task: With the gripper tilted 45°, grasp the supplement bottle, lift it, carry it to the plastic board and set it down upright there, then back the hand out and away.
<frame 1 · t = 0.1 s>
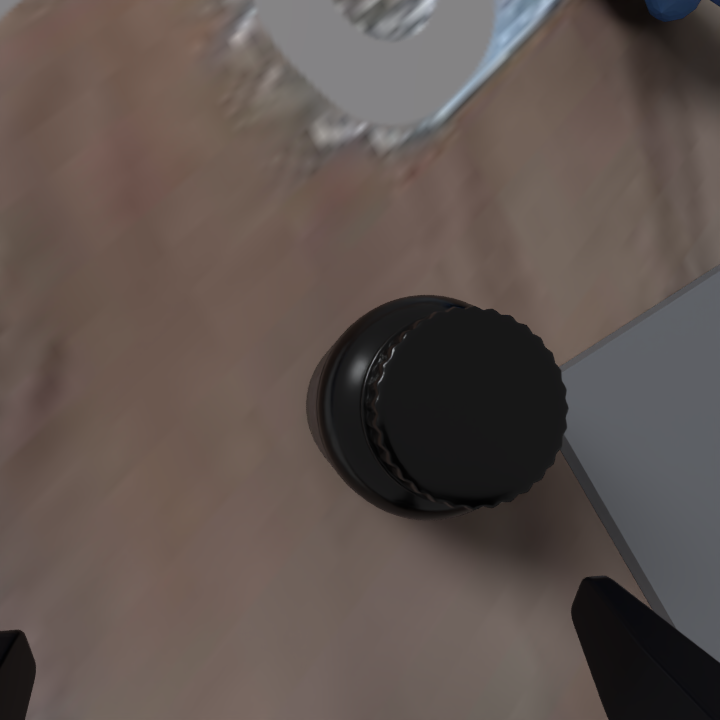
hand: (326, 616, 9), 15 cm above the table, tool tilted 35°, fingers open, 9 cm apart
supplement bottle: (377, 404, 24), on the table
grapes: (599, 2, 28), on the table
board: (717, 478, 26), on the table
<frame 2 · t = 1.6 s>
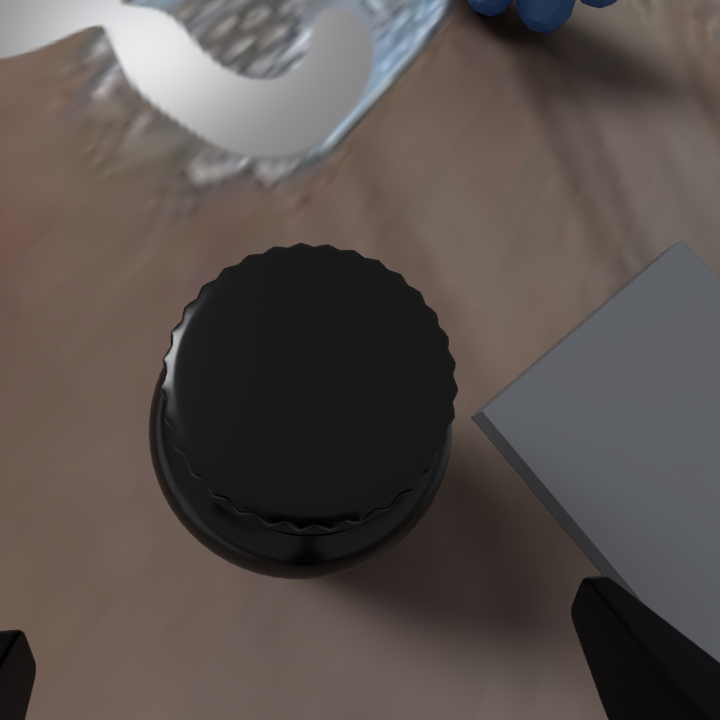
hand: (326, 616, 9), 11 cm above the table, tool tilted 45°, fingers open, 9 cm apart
supplement bottle: (295, 459, 20), on the table
grapes: (477, 27, 28), on the table
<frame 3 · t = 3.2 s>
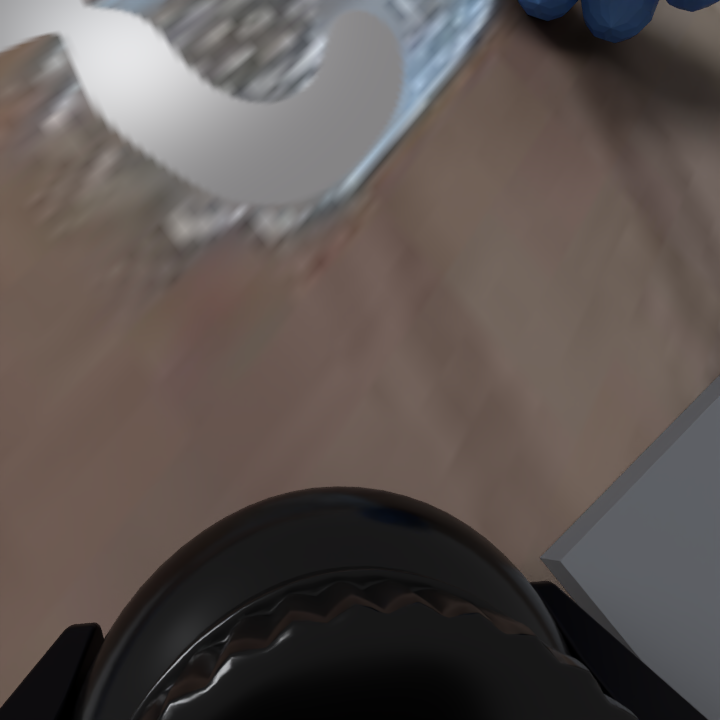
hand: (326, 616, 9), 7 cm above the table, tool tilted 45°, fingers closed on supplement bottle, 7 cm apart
supplement bottle: (307, 627, 15), on the table, touching gripper
grapes: (530, 33, 22), on the table
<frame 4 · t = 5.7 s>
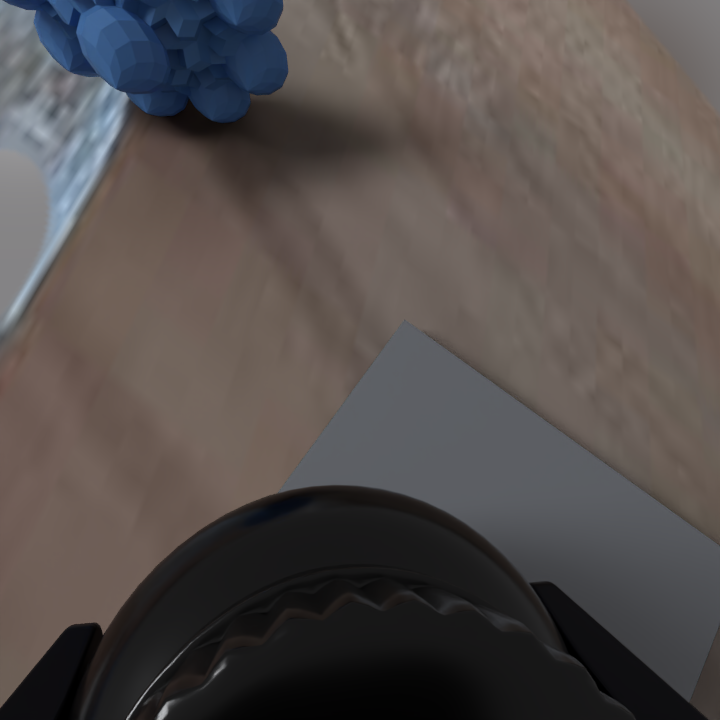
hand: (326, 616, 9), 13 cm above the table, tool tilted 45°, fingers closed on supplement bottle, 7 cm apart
supplement bottle: (306, 626, 15), point 7 cm above the table, touching gripper
grapes: (165, 127, 26), on the table
board: (488, 568, 22), on the table
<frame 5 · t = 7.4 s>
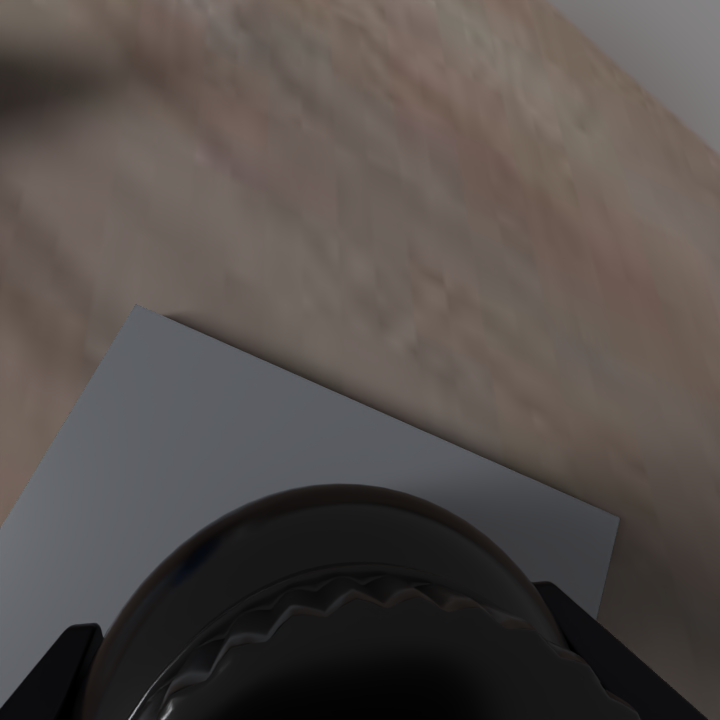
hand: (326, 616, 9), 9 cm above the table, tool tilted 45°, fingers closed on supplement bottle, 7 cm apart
supplement bottle: (307, 625, 15), point 2 cm above the table, touching gripper
board: (301, 601, 17), on the table
when the fingers open (9 cm above the table, at t = 8.4 s): supplement bottle drops 1 cm, resting on board.
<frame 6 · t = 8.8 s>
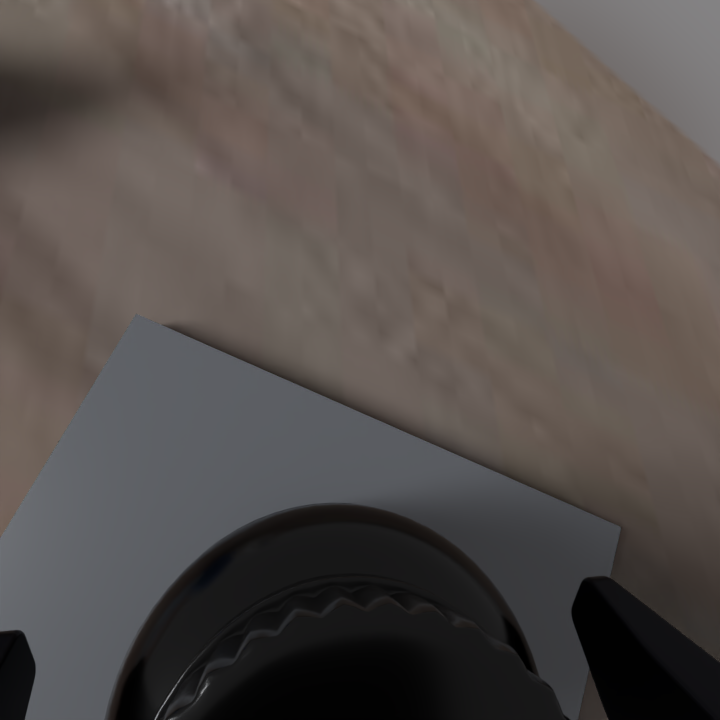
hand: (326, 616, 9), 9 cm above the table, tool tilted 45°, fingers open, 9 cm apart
supplement bottle: (306, 625, 16), point 1 cm above the table, touching board
board: (301, 611, 17), on the table
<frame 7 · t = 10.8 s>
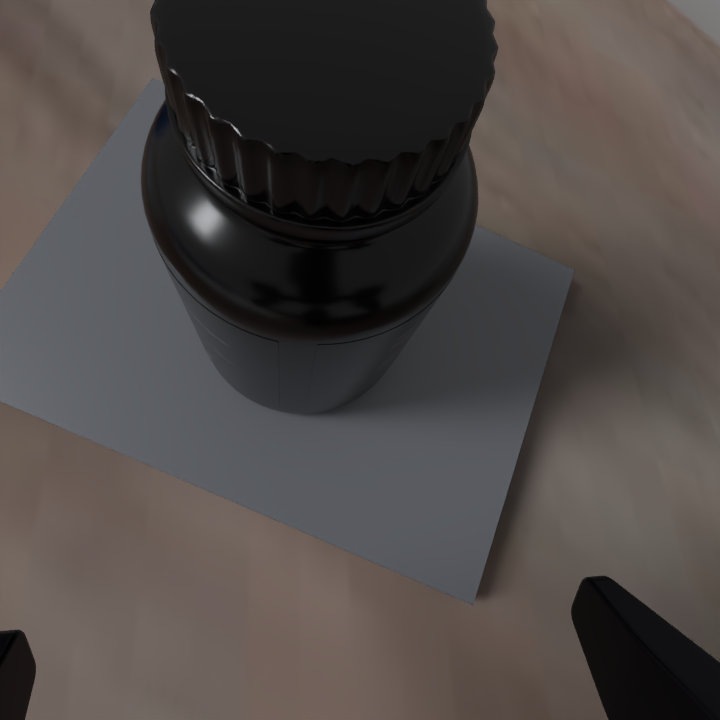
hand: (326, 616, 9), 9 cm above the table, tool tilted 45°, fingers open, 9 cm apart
supplement bottle: (300, 323, 19), point 1 cm above the table, touching board
board: (295, 327, 20), on the table
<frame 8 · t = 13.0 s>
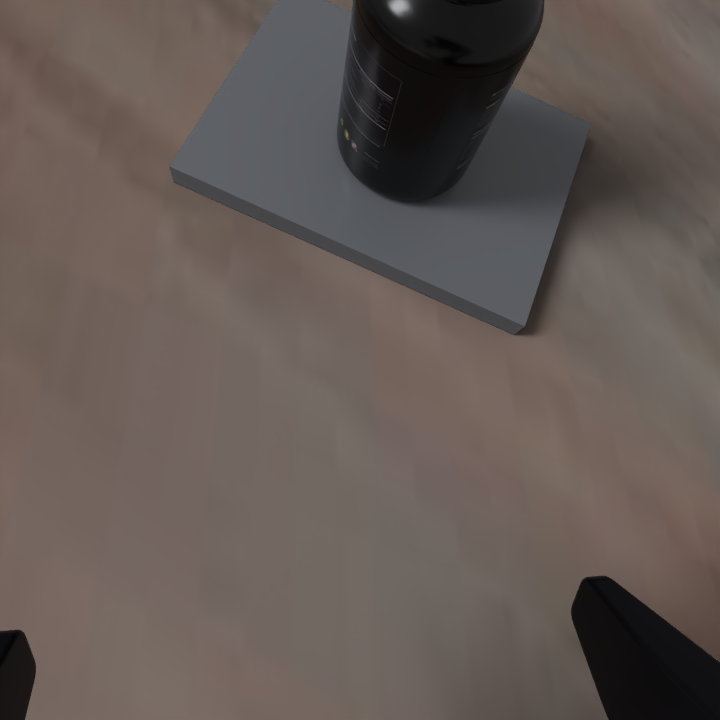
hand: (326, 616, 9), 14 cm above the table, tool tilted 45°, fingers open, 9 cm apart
supplement bottle: (400, 149, 27), point 1 cm above the table, touching board
board: (393, 158, 28), on the table
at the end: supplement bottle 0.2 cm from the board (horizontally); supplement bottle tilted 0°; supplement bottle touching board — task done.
